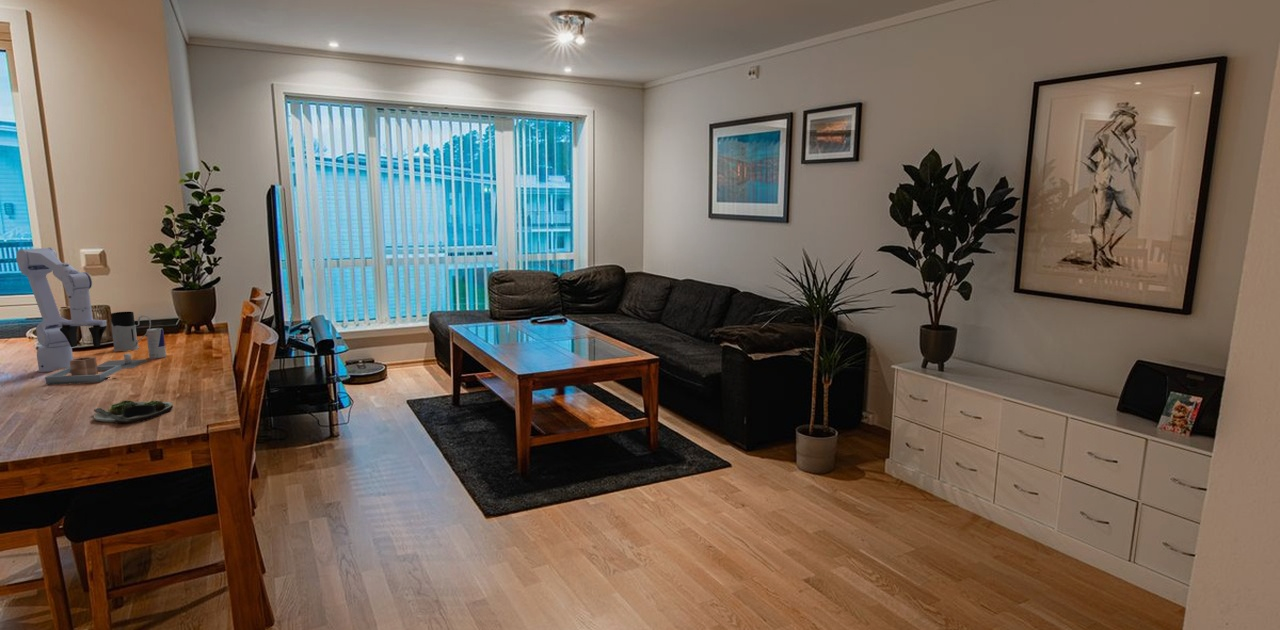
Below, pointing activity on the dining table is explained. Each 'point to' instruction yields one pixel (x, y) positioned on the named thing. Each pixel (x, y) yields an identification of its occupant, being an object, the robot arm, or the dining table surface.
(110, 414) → the salad plate
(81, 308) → the robot arm
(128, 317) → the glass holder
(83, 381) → the grey square frame
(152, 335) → the energy drink
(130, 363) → the stake board
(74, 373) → the tan block
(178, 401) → the dining table surface
